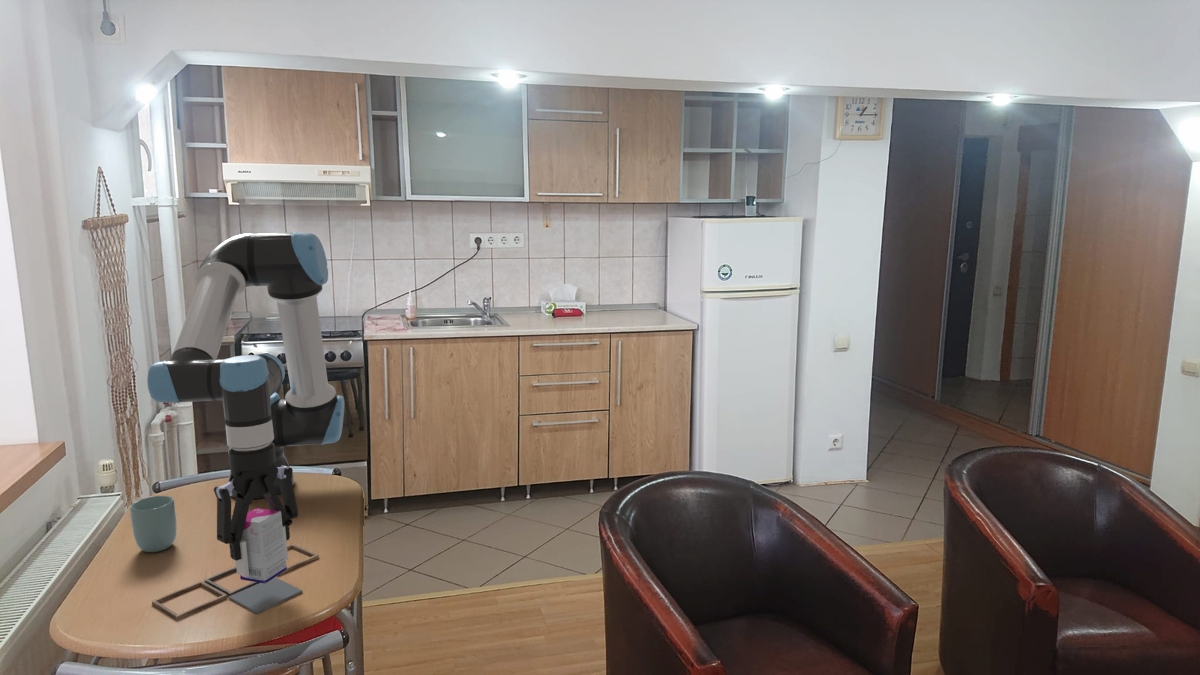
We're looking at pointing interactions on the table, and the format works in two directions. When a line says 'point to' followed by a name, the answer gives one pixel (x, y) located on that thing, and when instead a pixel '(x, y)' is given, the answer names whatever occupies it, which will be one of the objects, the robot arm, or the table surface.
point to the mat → (265, 595)
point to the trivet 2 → (314, 556)
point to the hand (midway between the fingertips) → (263, 566)
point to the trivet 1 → (178, 616)
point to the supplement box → (264, 545)
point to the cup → (154, 523)
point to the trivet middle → (229, 593)
